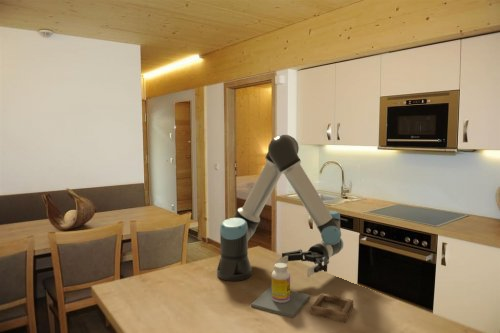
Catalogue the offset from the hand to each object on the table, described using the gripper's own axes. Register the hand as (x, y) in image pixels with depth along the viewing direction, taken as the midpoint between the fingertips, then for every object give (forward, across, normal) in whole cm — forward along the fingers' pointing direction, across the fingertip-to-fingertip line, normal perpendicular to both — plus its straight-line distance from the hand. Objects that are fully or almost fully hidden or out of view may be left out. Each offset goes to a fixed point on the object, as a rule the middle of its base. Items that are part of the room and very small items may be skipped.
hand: (292, 268), depth 132 cm
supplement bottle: (+7, 0, -10) cm, 12 cm away
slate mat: (+7, 0, -11) cm, 13 cm away
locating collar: (+1, -17, -11) cm, 20 cm away
